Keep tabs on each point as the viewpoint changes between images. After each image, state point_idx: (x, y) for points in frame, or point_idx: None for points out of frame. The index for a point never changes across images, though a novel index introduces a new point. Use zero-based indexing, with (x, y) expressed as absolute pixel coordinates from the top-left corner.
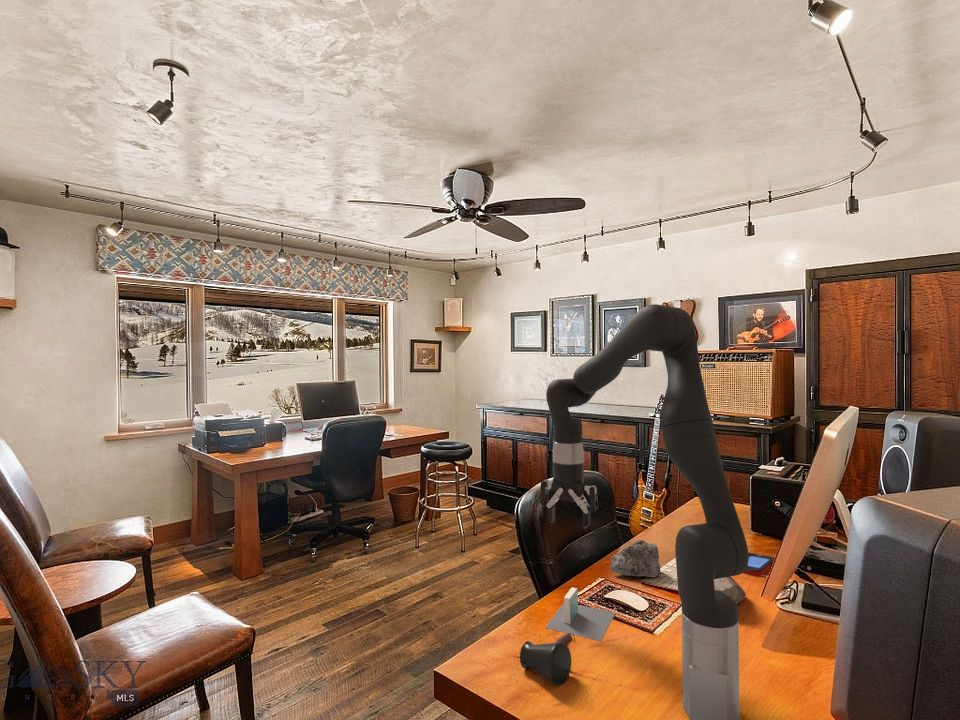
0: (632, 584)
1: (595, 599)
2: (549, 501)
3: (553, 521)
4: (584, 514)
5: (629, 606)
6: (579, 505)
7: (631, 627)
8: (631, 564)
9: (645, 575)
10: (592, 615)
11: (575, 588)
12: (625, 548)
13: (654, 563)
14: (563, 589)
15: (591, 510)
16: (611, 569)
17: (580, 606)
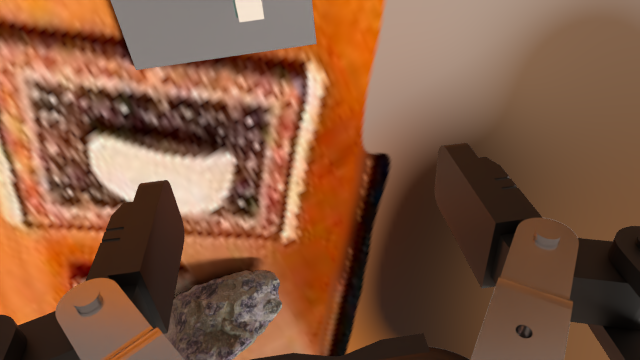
0: (200, 249)
1: (243, 122)
2: (569, 276)
3: (440, 171)
4: (118, 269)
5: (134, 139)
6: (142, 335)
7: (44, 16)
8: (214, 304)
9: (182, 293)
10: (187, 6)
11: (244, 16)
12: (242, 347)
13: (167, 337)
14: (358, 126)
15: (4, 327)
16: (272, 273)
17: (254, 44)
